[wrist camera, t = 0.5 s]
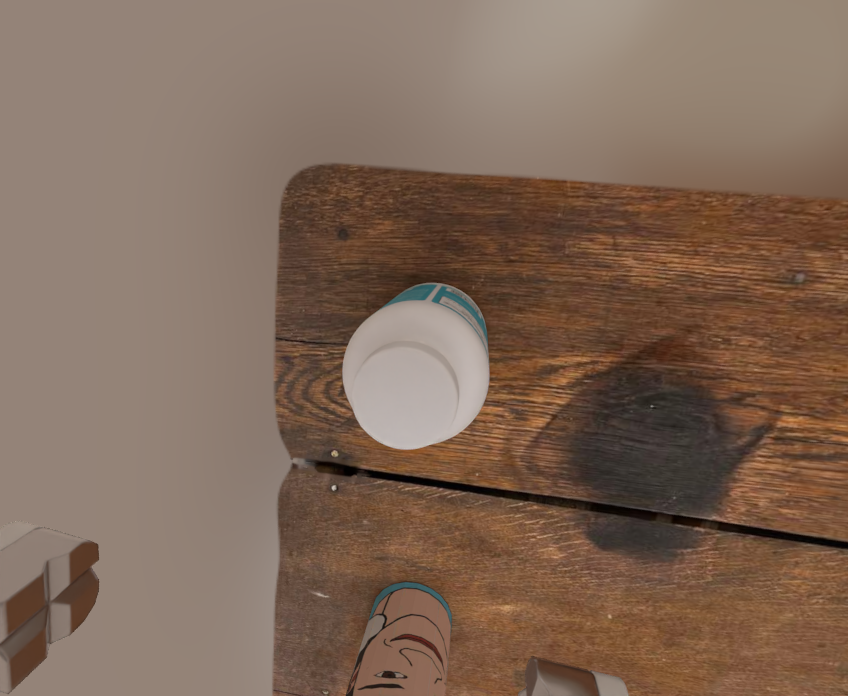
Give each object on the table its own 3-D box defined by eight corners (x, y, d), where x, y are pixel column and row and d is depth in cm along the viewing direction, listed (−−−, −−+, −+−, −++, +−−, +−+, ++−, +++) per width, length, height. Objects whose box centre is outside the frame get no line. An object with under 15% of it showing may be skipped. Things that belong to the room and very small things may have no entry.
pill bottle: (378, 376, 34) (312, 464, 21) (387, 275, 32) (320, 303, 19) (480, 390, 33) (477, 491, 20) (495, 288, 31) (502, 326, 18)
